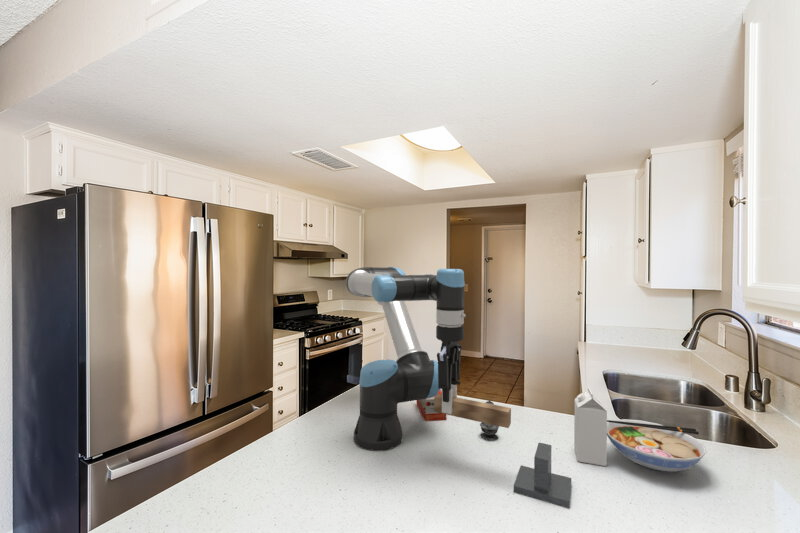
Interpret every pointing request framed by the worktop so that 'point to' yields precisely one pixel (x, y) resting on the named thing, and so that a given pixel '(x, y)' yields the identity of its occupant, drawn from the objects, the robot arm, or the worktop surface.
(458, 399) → the walnut beam
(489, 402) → the grey stone chess piece
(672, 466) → the ramen bowl
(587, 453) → the milk carton
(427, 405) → the medicine box
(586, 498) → the worktop surface
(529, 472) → the ridge stand
